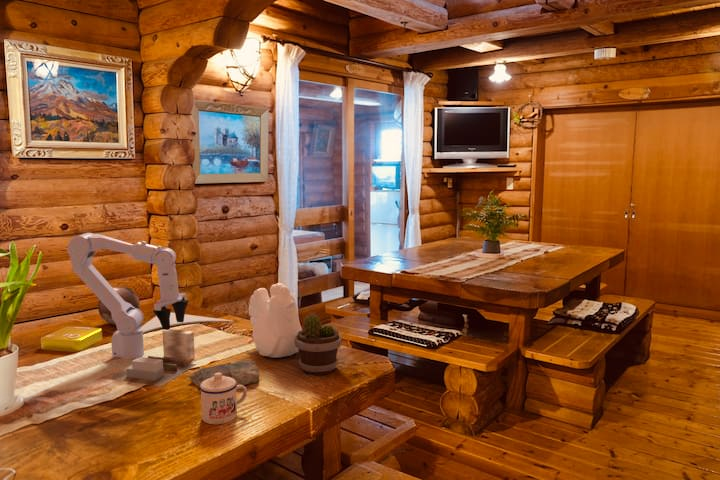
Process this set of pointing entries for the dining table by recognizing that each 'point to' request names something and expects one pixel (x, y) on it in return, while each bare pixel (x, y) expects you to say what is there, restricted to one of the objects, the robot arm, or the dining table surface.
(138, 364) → the upper offcut
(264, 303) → the white sculpture
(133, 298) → the wooden sphere
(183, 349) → the brown rectangular block
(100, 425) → the dining table surface
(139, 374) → the block
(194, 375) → the clay tablet
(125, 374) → the walnut rack
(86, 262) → the robot arm
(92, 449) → the dining table surface
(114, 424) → the dining table surface
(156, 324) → the corner molding
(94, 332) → the element tile
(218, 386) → the teacup with lid
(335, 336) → the flowerpot
